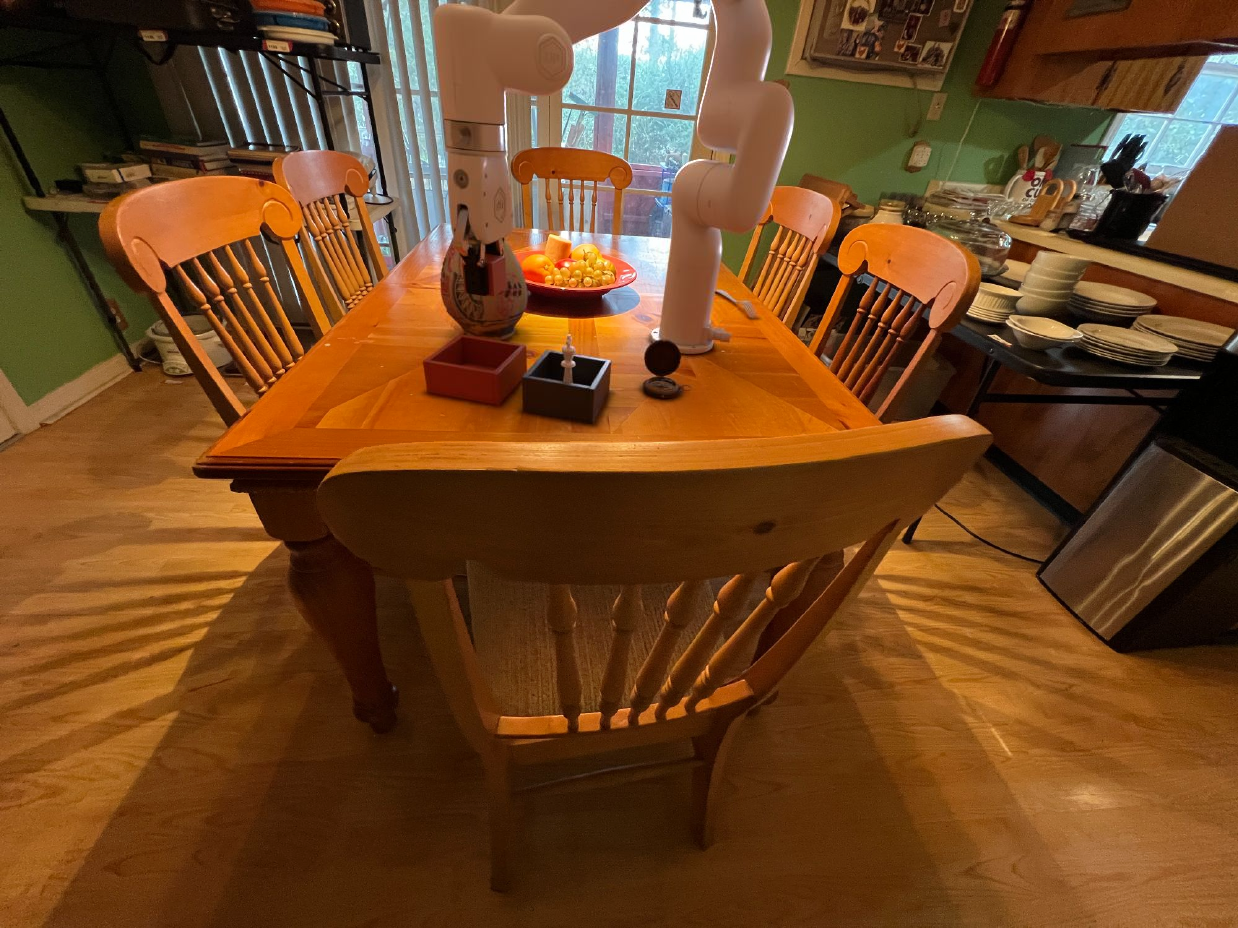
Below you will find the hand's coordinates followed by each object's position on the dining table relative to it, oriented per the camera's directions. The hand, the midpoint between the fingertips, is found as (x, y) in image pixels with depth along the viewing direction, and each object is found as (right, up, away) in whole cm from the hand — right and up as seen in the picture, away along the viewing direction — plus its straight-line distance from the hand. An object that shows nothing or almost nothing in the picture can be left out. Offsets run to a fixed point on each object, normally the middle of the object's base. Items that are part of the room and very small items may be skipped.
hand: (485, 288), depth 73 cm
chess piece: (+11, -15, +5) cm, 20 cm away
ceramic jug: (-6, -1, +24) cm, 25 cm away
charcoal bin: (+11, -16, +5) cm, 20 cm away
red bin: (-3, -12, +8) cm, 15 cm away
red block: (0, 0, 0) cm, 0 cm away
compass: (+27, -13, +11) cm, 32 cm away
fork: (+48, +15, +53) cm, 73 cm away
